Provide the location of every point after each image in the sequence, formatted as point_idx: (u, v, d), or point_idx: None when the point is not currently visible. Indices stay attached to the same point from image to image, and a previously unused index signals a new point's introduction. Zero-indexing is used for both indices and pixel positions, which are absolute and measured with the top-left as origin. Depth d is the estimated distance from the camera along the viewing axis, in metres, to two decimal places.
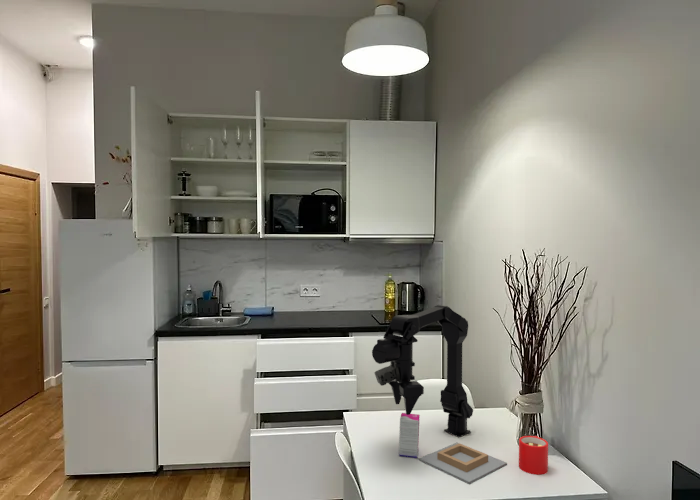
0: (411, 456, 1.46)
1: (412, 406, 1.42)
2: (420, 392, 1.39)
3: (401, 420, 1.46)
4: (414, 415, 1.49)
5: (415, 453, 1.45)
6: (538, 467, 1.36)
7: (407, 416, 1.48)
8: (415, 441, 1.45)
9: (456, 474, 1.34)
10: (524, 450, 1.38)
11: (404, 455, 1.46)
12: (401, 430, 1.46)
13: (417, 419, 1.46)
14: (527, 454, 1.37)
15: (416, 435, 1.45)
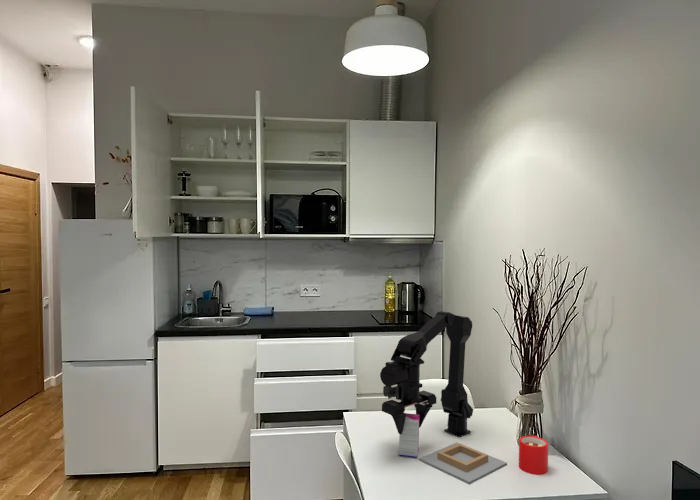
0: (411, 456, 1.46)
1: (400, 426, 1.44)
2: (392, 413, 1.41)
3: None
4: (414, 415, 1.49)
5: (415, 453, 1.45)
6: (538, 467, 1.36)
7: (407, 416, 1.48)
8: (415, 441, 1.45)
9: (456, 474, 1.34)
10: (524, 450, 1.38)
11: (404, 455, 1.46)
12: None
13: (417, 419, 1.46)
14: (527, 454, 1.37)
15: (416, 435, 1.45)
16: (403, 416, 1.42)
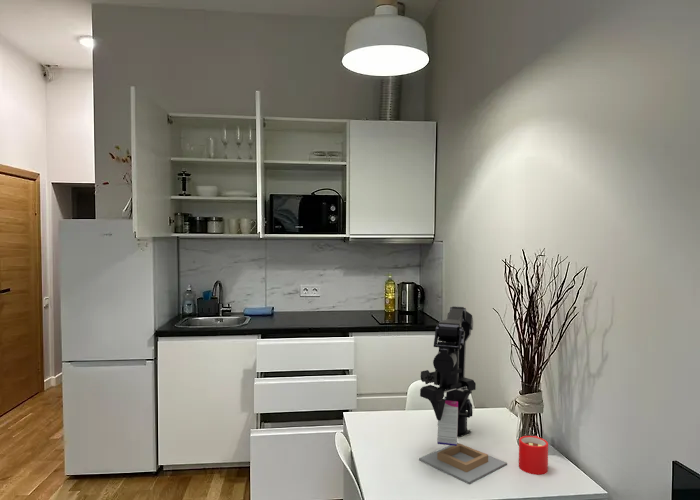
0: (450, 444, 1.41)
1: (439, 412, 1.40)
2: (431, 398, 1.37)
3: None
4: (453, 402, 1.45)
5: (455, 440, 1.41)
6: (538, 467, 1.36)
7: (445, 403, 1.44)
8: (454, 428, 1.41)
9: (456, 474, 1.34)
10: (524, 450, 1.38)
11: (443, 443, 1.42)
12: None
13: (456, 406, 1.42)
14: (527, 454, 1.37)
15: (455, 422, 1.41)
16: (442, 401, 1.38)
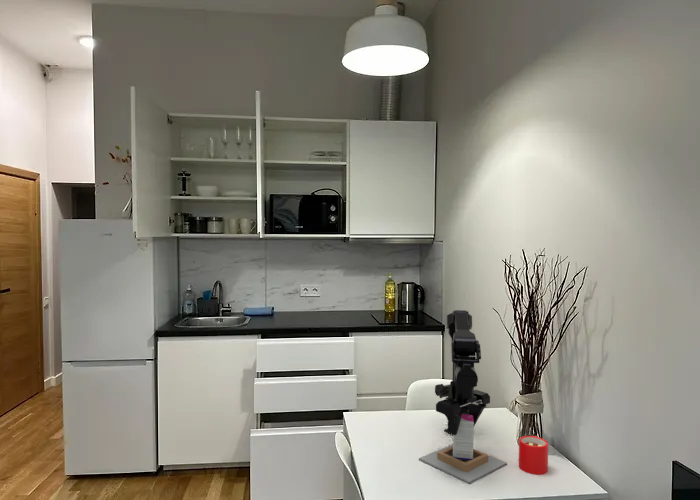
0: (466, 458, 1.40)
1: (455, 427, 1.39)
2: (448, 413, 1.35)
3: None
4: (468, 416, 1.44)
5: (471, 455, 1.40)
6: (538, 467, 1.36)
7: (461, 417, 1.43)
8: (470, 443, 1.40)
9: (456, 474, 1.34)
10: (524, 450, 1.38)
11: (459, 457, 1.41)
12: None
13: (472, 420, 1.41)
14: (527, 454, 1.37)
15: (471, 437, 1.40)
16: (459, 416, 1.37)
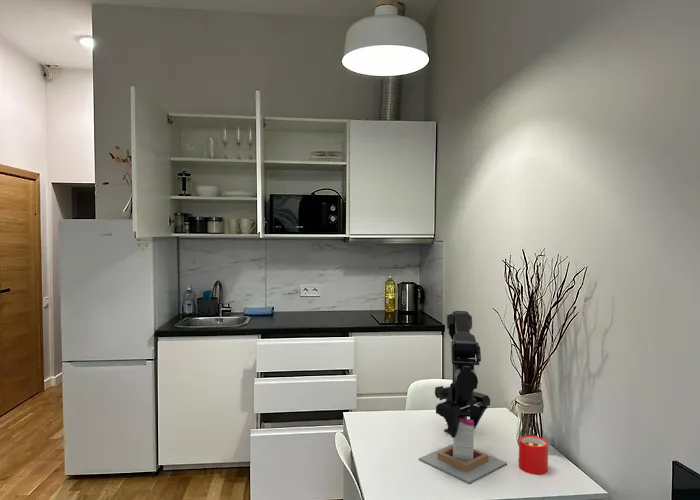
0: None
1: (453, 430, 1.38)
2: (448, 415, 1.35)
3: None
4: (468, 421, 1.44)
5: None
6: (538, 467, 1.36)
7: (461, 421, 1.43)
8: (470, 447, 1.40)
9: (456, 474, 1.34)
10: (524, 450, 1.38)
11: None
12: (456, 436, 1.41)
13: (472, 425, 1.41)
14: (527, 454, 1.37)
15: (472, 441, 1.40)
16: (458, 419, 1.36)
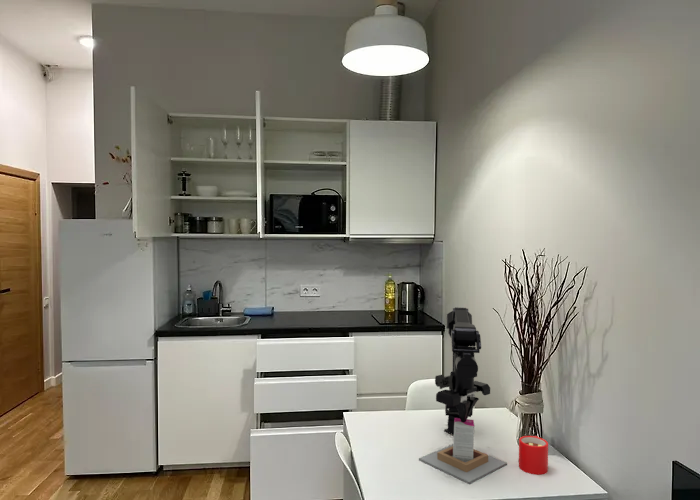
0: None
1: (463, 414, 1.41)
2: (448, 403, 1.35)
3: (456, 425, 1.41)
4: (468, 421, 1.44)
5: None
6: (538, 467, 1.36)
7: None
8: (470, 447, 1.40)
9: (456, 474, 1.34)
10: (524, 450, 1.38)
11: None
12: (456, 436, 1.41)
13: (472, 425, 1.41)
14: (527, 454, 1.37)
15: (472, 441, 1.40)
16: (467, 403, 1.39)
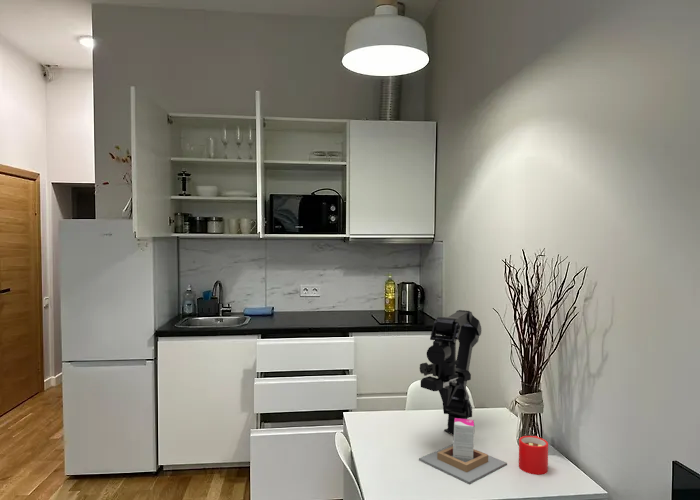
0: None
1: (446, 399, 1.52)
2: (431, 388, 1.46)
3: (456, 425, 1.41)
4: (468, 421, 1.44)
5: None
6: (538, 467, 1.36)
7: (461, 421, 1.43)
8: (470, 447, 1.40)
9: (456, 474, 1.34)
10: (524, 450, 1.38)
11: None
12: (456, 436, 1.41)
13: (472, 425, 1.41)
14: (527, 454, 1.37)
15: (472, 441, 1.40)
16: (449, 389, 1.50)
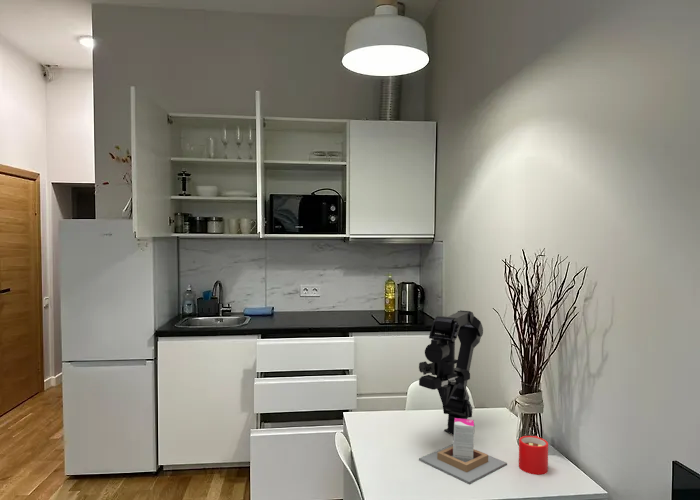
0: None
1: (444, 398, 1.53)
2: (430, 387, 1.47)
3: (456, 425, 1.41)
4: (468, 421, 1.44)
5: None
6: (538, 467, 1.36)
7: (461, 421, 1.43)
8: (470, 447, 1.40)
9: (456, 474, 1.34)
10: (524, 450, 1.38)
11: None
12: (456, 436, 1.41)
13: (472, 425, 1.41)
14: (527, 454, 1.37)
15: (472, 441, 1.40)
16: (448, 387, 1.51)
